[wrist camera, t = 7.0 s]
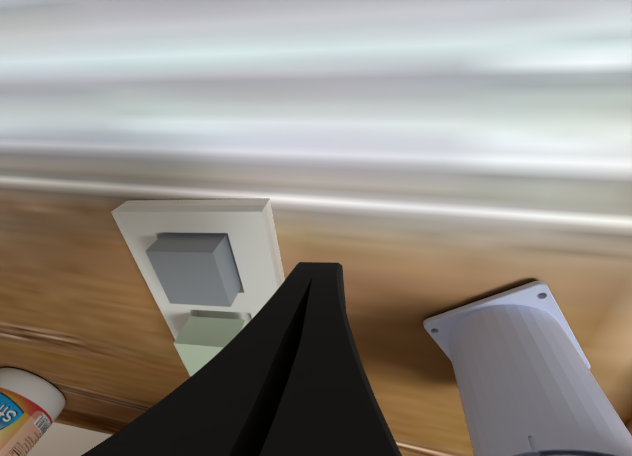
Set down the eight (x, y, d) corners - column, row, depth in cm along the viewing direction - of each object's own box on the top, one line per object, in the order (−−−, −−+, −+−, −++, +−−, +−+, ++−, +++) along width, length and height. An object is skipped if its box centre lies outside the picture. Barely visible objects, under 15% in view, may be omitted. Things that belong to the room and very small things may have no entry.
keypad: (306, 397, 30) (303, 414, 29) (213, 387, 32) (207, 402, 31) (269, 198, 19) (261, 211, 18) (127, 200, 21) (110, 211, 19)
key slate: (243, 282, 22) (230, 306, 20) (187, 279, 23) (170, 303, 21) (228, 230, 20) (212, 252, 18) (167, 229, 20) (145, 251, 18)
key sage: (257, 357, 25) (246, 386, 23) (206, 353, 25) (192, 380, 23) (245, 319, 22) (233, 348, 20) (190, 316, 23) (173, 343, 21)
